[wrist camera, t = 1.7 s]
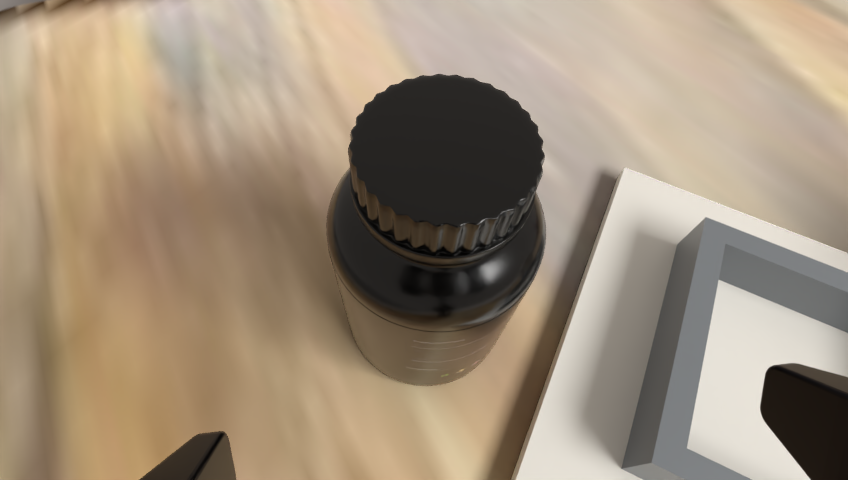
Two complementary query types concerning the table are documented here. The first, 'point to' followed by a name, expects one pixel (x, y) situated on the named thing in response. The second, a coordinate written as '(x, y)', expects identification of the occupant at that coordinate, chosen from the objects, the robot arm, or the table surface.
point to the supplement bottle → (436, 225)
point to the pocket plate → (683, 343)
